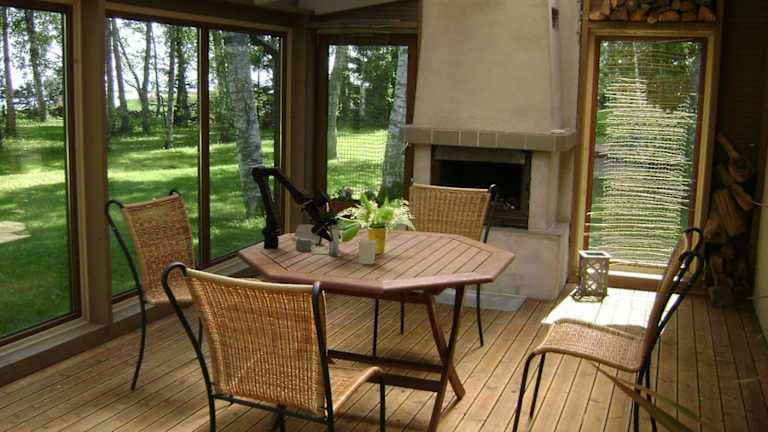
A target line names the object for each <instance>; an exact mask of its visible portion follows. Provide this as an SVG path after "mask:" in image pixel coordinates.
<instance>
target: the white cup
mask: <svg viewBox="0 0 768 432" xmlns="http://www.w3.org/2000/svg"><path fill="white" fill-rule="evenodd" d="M376 248H377V241H376V240H374V239H368V238H367V239H366V238H365V239H364V238H363V239H359V240H358V263H359V264H362V265H374V264H375V259H376V258H375V257H376V250H377V249H376Z"/></svg>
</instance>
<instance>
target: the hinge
mask: <svg viewBox="0 0 768 432" xmlns="http://www.w3.org/2000/svg"><path fill="white" fill-rule="evenodd" d="M314 226H315V225H314V224H313V225H312V224H299V225H298V226H297V227H296V230H295V233H294V235H293V236H292V237H291V242H295V243H296V239H298V238H300V239H311V246H313V247H316V245H323V239H324V238H322V237H319V236H317V235H315V234H314V235H313V233H312V232H311V228H312V227H314Z"/></svg>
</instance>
